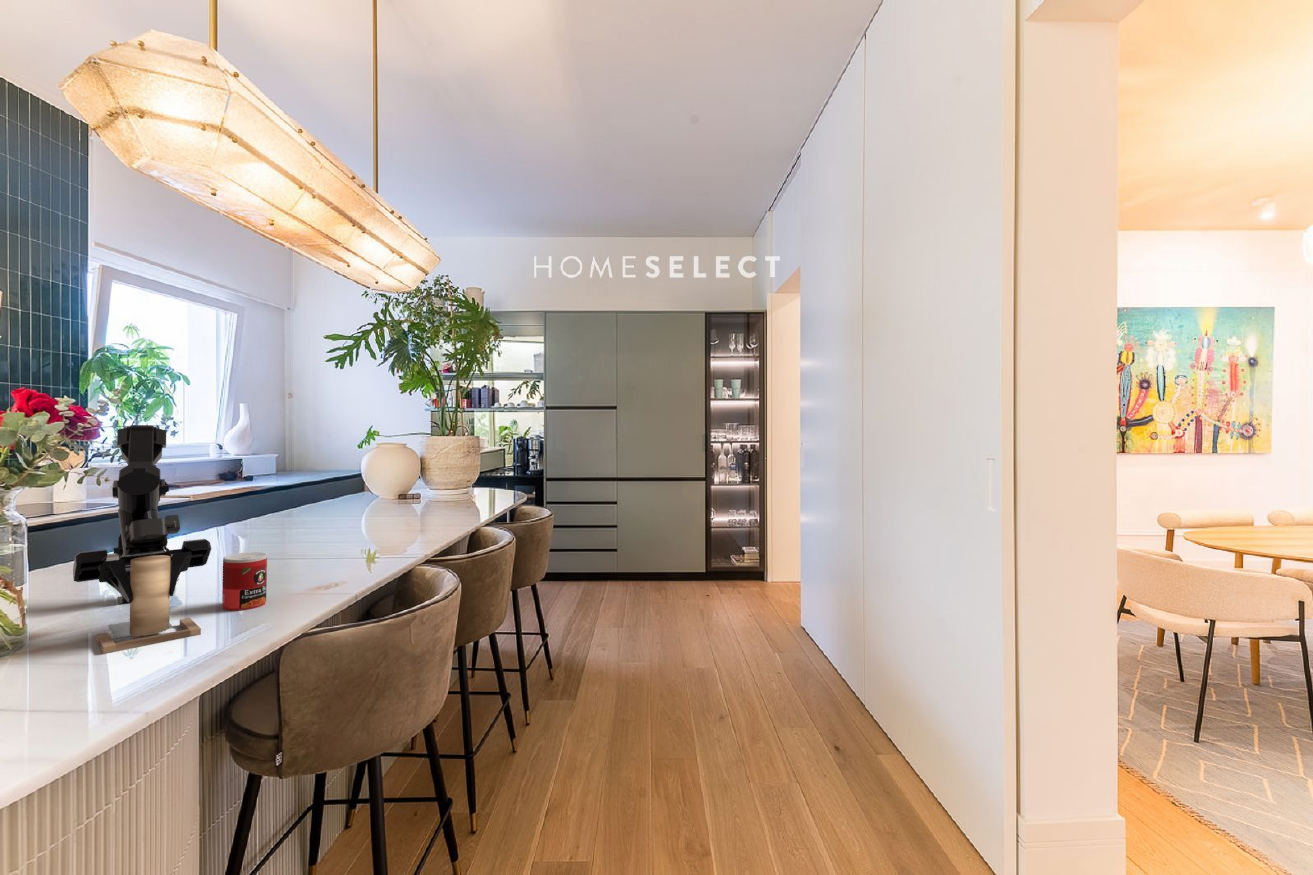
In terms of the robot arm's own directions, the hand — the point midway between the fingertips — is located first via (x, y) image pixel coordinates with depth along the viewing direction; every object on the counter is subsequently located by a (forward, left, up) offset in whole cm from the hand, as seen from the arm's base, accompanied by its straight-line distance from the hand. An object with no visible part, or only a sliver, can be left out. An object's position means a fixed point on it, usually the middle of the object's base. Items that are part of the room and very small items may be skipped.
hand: (151, 598), depth 104 cm
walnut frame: (-1, 0, -8) cm, 8 cm away
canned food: (-11, +17, -8) cm, 22 cm away
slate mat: (-9, 0, -8) cm, 12 cm away
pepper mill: (-1, 0, -6) cm, 6 cm away
